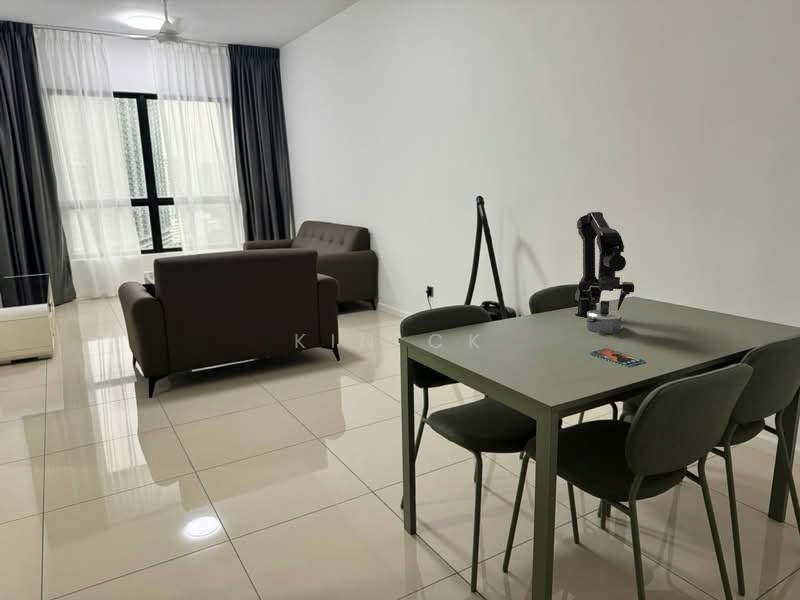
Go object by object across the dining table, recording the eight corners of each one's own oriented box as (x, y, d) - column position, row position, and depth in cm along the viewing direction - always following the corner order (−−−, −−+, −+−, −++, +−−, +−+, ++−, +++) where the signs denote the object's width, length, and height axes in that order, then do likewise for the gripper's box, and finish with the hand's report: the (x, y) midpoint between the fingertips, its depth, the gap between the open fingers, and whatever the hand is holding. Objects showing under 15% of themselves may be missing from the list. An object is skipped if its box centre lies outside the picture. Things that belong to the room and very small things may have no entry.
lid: (586, 321, 201) (587, 303, 200) (587, 314, 213) (588, 297, 211) (622, 323, 198) (623, 305, 196) (621, 316, 209) (622, 298, 207)
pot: (577, 329, 206) (577, 316, 205) (603, 323, 215) (604, 310, 214) (603, 336, 197) (604, 322, 196) (629, 328, 206) (630, 315, 205)
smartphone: (628, 366, 164) (588, 352, 177) (628, 370, 165) (588, 356, 177) (647, 360, 168) (606, 347, 181) (646, 364, 169) (606, 350, 181)
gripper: (579, 269, 197) (576, 312, 200) (636, 271, 191) (633, 316, 194) (580, 264, 207) (578, 306, 210) (634, 266, 201) (631, 309, 204)
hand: (604, 309), depth 204 cm, fingers open, 9 cm apart
